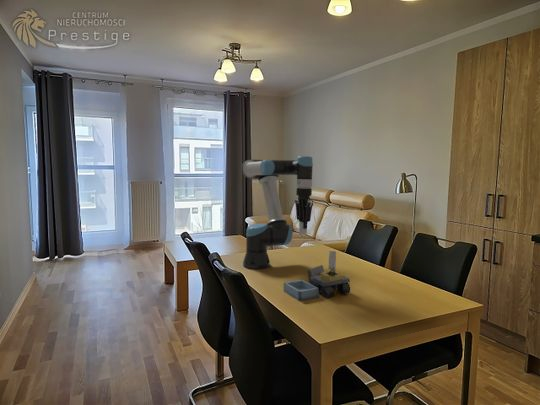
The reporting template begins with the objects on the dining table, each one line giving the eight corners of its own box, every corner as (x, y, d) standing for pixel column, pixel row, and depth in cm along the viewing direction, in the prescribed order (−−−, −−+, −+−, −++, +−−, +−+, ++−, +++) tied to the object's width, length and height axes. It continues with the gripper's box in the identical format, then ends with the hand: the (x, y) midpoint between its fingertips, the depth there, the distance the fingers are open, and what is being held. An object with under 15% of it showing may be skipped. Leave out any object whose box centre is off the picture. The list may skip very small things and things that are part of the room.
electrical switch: (315, 289, 168) (314, 269, 167) (306, 287, 171) (305, 268, 171) (326, 284, 175) (325, 265, 174) (318, 282, 178) (317, 264, 178)
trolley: (308, 290, 166) (309, 271, 165) (332, 285, 173) (333, 267, 172) (326, 300, 154) (327, 279, 153) (351, 294, 161) (352, 275, 160)
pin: (327, 277, 162) (327, 251, 161) (332, 276, 164) (333, 250, 162) (331, 279, 160) (332, 253, 158) (336, 278, 161) (337, 252, 160)
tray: (283, 291, 164) (283, 282, 164) (302, 288, 169) (302, 279, 168) (299, 301, 153) (299, 291, 152) (318, 297, 158) (318, 288, 157)
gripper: (290, 186, 183) (289, 232, 186) (305, 188, 171) (304, 238, 173) (302, 186, 187) (301, 231, 189) (318, 188, 174) (317, 236, 177)
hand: (302, 234), depth 181 cm, fingers closed
